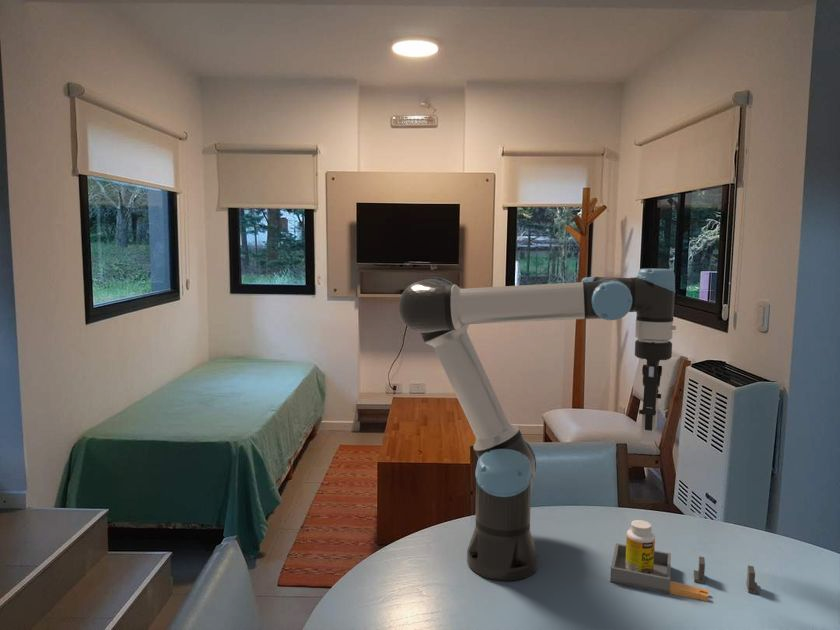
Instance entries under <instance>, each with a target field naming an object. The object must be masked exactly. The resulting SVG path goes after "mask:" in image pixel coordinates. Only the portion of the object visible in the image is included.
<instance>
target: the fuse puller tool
mask: <svg viewBox="0 0 840 630" xmlns="http://www.w3.org/2000/svg"><path fill="white" fill-rule="evenodd" d="M670 594H672V595H675V596H676V595H677V596H681V597H687V598H691V599H695V600H701V601H706V602H708V601H709V590H708V589H704V588H700V587H697V586H694V585H688V584H684V583H680V582H676V581H673V580H670Z"/></svg>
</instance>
